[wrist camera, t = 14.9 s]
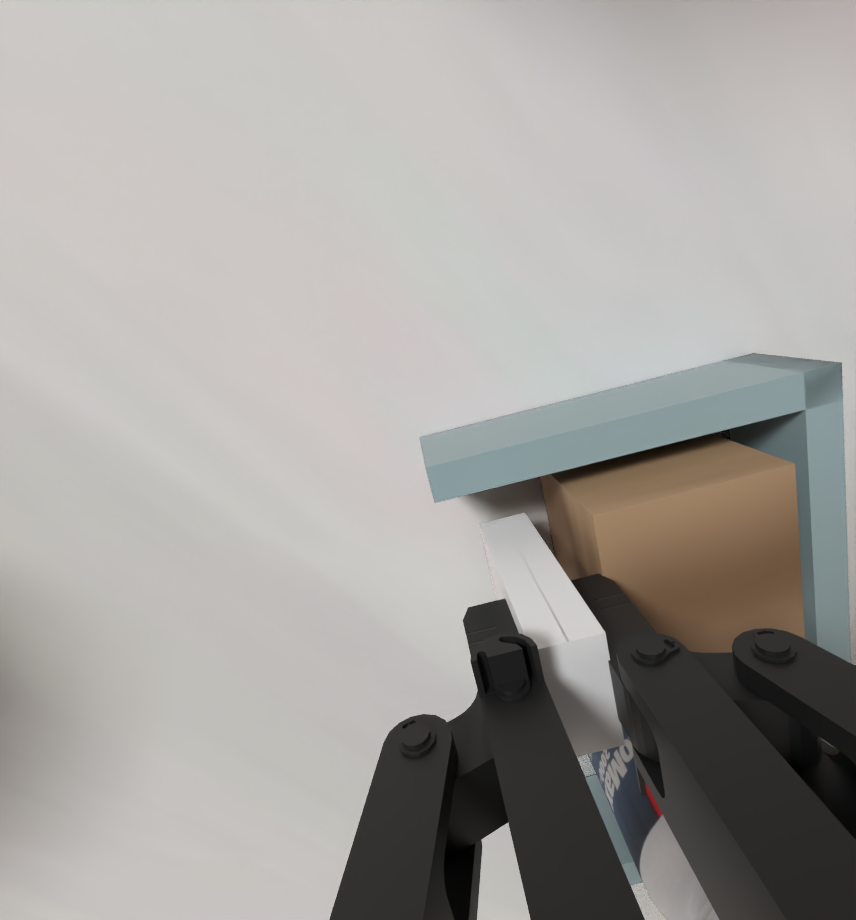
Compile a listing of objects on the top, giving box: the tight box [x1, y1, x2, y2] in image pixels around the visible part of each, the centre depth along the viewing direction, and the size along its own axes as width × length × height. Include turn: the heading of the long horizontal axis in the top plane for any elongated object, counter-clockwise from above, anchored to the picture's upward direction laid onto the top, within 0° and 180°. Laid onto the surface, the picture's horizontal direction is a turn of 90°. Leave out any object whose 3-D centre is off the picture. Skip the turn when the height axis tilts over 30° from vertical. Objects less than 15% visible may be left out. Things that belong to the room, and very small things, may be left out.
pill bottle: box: [588, 726, 719, 920], centre depth 16 cm, size 5×5×9 cm
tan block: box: [540, 433, 805, 653], centre depth 16 cm, size 5×5×5 cm
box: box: [420, 353, 851, 885], centre depth 18 cm, size 16×11×4 cm
